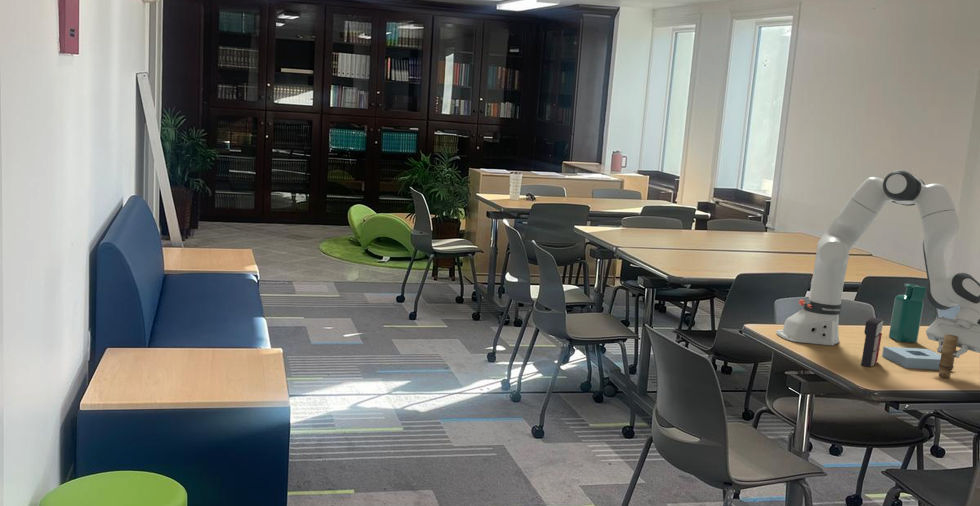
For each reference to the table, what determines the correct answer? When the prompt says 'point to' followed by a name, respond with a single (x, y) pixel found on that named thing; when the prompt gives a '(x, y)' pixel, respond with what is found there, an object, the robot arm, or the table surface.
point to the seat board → (913, 357)
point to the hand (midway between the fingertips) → (947, 354)
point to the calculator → (872, 341)
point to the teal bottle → (907, 314)
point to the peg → (947, 356)
